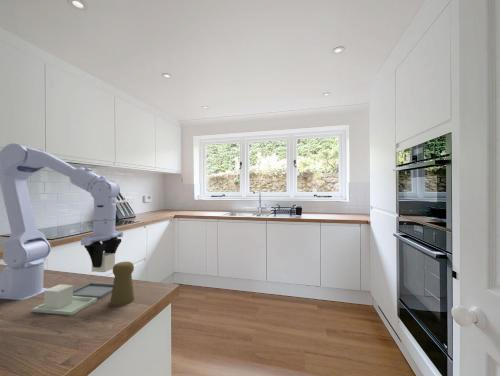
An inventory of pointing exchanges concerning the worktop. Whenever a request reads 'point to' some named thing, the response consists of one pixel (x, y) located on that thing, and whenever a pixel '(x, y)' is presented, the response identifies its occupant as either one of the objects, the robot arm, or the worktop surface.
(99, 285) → the tray
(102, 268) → the stone block
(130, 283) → the cork
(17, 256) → the robot arm
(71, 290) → the stone block
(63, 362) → the worktop surface
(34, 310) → the tray
